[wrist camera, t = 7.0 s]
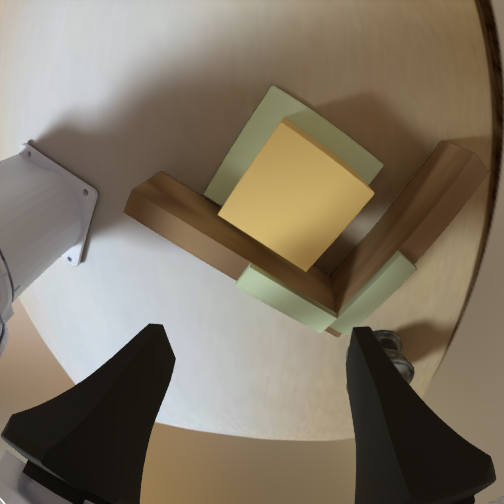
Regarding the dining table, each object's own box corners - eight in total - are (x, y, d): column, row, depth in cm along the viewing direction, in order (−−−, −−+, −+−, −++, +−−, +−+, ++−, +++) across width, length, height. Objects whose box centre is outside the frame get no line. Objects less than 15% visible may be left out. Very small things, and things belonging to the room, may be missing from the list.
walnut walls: (152, 189, 19) (119, 215, 15) (261, 7, 12) (251, -21, 8) (332, 299, 21) (338, 343, 17) (455, 155, 15) (493, 174, 11)
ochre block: (236, 184, 18) (217, 214, 13) (283, 117, 15) (281, 122, 11) (303, 229, 18) (305, 271, 14) (352, 168, 16) (374, 193, 12)
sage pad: (204, 193, 18) (203, 194, 18) (272, 85, 15) (272, 84, 14) (307, 257, 20) (307, 259, 19) (382, 164, 16) (384, 165, 16)
